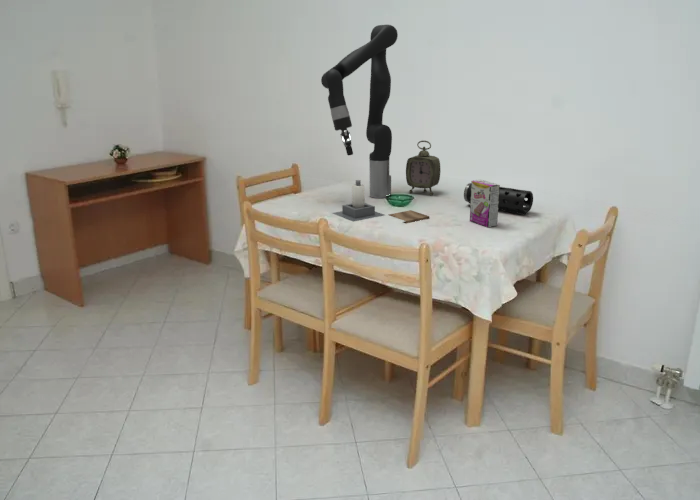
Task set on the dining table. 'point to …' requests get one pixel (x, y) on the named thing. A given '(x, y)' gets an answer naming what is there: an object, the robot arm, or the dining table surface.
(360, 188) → the bottle
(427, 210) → the dining table surface
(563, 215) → the dining table surface
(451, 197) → the dining table surface
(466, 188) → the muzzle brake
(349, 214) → the socket block
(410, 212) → the walnut board
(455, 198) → the dining table surface
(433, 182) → the tabletop clock
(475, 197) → the candy bar box
